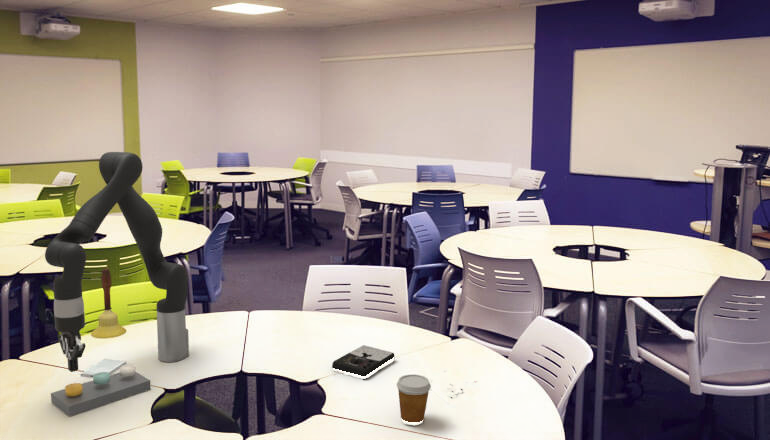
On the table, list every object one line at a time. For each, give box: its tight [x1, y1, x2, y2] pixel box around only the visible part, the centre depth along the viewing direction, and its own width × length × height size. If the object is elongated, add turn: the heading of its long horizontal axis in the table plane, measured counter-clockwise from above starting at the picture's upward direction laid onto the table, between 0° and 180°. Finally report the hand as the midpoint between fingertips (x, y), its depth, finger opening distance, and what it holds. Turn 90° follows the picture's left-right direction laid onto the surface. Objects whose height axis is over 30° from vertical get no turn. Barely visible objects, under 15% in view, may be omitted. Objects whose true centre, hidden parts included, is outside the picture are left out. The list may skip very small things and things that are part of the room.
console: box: [50, 371, 152, 417], centre depth 185 cm, size 24×12×3 cm, turn 139°
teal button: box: [92, 372, 110, 385], centre depth 185 cm, size 4×4×2 cm
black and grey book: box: [331, 344, 395, 376], centre depth 213 cm, size 13×19×5 cm
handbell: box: [90, 267, 127, 339], centre depth 235 cm, size 12×12×25 cm
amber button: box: [64, 382, 83, 396], centre depth 179 cm, size 4×4×2 cm
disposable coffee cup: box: [396, 374, 432, 422], centre depth 175 cm, size 10×10×12 cm
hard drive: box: [79, 358, 128, 379], centre depth 204 cm, size 2×8×12 cm
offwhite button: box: [119, 363, 137, 377], centre depth 191 cm, size 4×4×2 cm
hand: (73, 370), depth 178 cm, fingers closed
